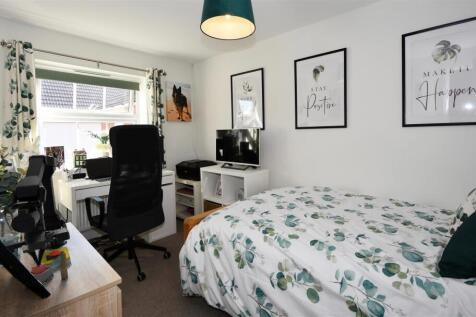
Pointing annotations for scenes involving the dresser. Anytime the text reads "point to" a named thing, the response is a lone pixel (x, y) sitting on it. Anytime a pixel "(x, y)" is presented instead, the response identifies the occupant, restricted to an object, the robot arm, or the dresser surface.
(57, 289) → the dresser surface
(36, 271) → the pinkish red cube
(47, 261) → the emergency button
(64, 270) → the finish flag
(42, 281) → the popper housing
